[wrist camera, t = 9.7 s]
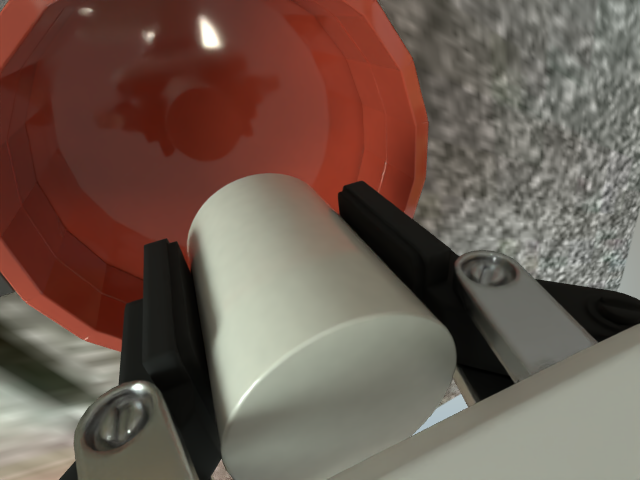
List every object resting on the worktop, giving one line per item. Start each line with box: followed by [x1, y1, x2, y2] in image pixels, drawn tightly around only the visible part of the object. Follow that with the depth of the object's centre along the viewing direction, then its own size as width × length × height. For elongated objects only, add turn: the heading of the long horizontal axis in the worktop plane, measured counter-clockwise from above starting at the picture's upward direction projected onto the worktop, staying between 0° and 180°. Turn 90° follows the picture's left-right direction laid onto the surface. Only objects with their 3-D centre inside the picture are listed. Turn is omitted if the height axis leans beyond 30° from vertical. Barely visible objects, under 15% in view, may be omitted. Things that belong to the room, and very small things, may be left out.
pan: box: [0, 0, 429, 352], centre depth 15 cm, size 15×15×5 cm
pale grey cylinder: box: [187, 173, 457, 480], centre depth 9 cm, size 4×4×6 cm
